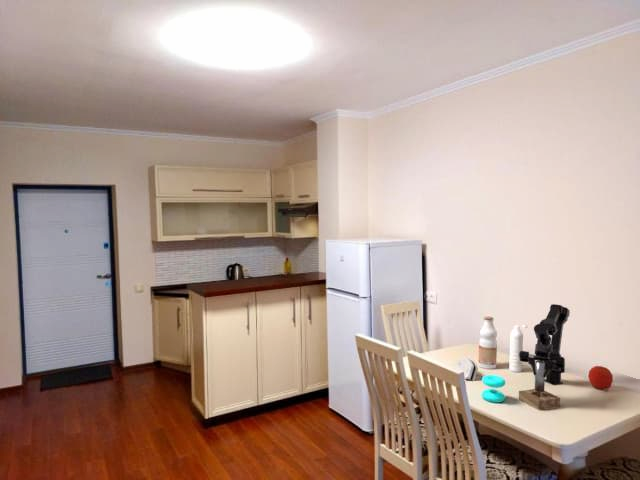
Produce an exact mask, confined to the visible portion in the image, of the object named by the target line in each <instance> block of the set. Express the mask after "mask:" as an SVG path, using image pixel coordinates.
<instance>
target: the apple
mask: <svg viewBox="0 0 640 480" xmlns="http://www.w3.org/2000/svg"><path fill="white" fill-rule="evenodd" d="M613 378H614V375H613V374H612V372H611V370H610V369H608V368H607V367H605V366H602V365H600V366H599V365H595V366H593V367H591V368H590V369H589V371H588V380H589V383H590V385H591V386H592V387H593V388H594V389H596V390H599V389H600V391H606V390H608V389H610V388H611V386H612V383H613V381H614V379H613ZM605 389H606V390H605Z"/></svg>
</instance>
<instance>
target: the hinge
mask: <svg viewBox="0 0 640 480" xmlns="http://www.w3.org/2000/svg"><path fill="white" fill-rule="evenodd" d="M453 369H456V370H459V371H464V373H465V378H466V380H471V381H473V382H475V379H476V376H477V372H478V369H479V368H478V365H477V364H476V362H475V361H474V360H473V359H471V358H468V357H465V356H464V357H463V356H462V357H459V359H458V361H457V364H456V365H455V366H454V367H453V368H452V370H453Z"/></svg>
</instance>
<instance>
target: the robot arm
mask: <svg viewBox="0 0 640 480" xmlns="http://www.w3.org/2000/svg"><path fill="white" fill-rule="evenodd" d="M570 314H571V313H570V309H569V308H568V307H566V306H563V305H561V304H555V303H552V304H550V307H549V311H548V313H547V315H546V317H545V318H544V319H542V320H541V321H539V323H537V324H535V325H534V326H533V332H534V335H535V338H536V339H537V341H536V343H535V345H534V354H531V353H530V352H529V351H526V350H523V351H520V352H519V358H520V361H522V363H528V364H529V365H530V366H531V368H532V373H533V376H535V364H536V361H543V362H545V376H544V377H545V383H548V384H550V385H561V384H562V385H563V384H564V382H563V381H562V374H564V373H565V372H566V371H565V369H566V368H565V367H566V359H565V357H563V356H562V355H561V353H560V352H561V344H562V337H563V329H564V325H565V324H566V322H567V321H568V319H569V317H570Z"/></svg>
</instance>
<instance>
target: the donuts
mask: <svg viewBox="0 0 640 480" xmlns="http://www.w3.org/2000/svg"><path fill="white" fill-rule="evenodd" d="M481 380H482V383H483V384H484V385H485V386H487V387H489V388H488V389H485V390H483V391H482V392H481V397H482V398H483V400H485V401H487V402H490V403H502V402H504V400H505V399H506V396H505V394H504V393H503V392H502V391H500V390H497V389H498V388H503V387H504V386H505V385H506V380H505V379H504V377H502V376H499V375H495V374H487V375H484V376H482V378H481Z"/></svg>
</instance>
